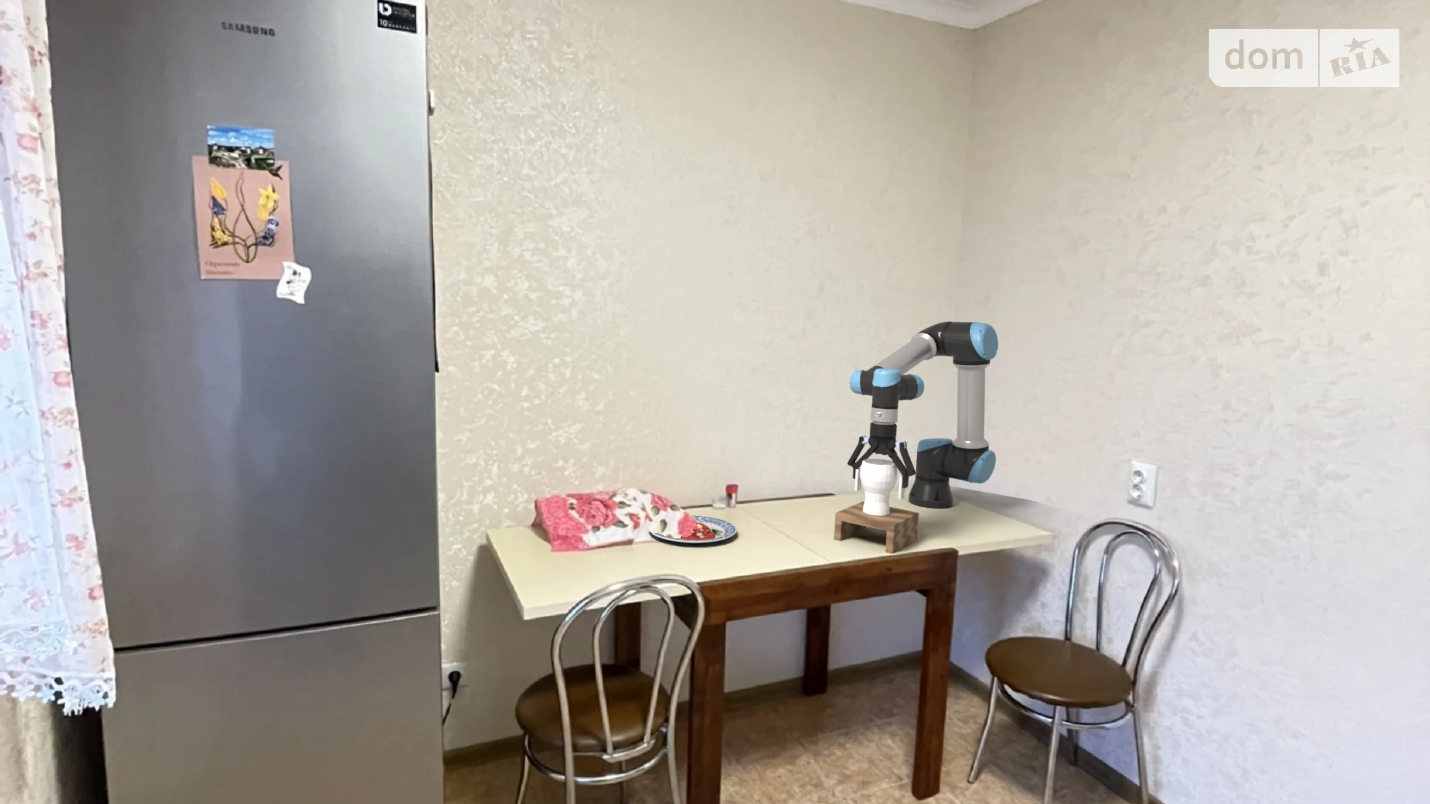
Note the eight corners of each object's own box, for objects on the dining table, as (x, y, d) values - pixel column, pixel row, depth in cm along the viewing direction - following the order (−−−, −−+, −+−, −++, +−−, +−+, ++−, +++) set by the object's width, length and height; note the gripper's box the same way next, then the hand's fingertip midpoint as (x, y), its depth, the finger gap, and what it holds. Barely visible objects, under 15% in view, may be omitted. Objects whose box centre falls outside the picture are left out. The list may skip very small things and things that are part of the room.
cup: (892, 508, 217) (895, 459, 215) (897, 518, 207) (900, 466, 205) (856, 506, 218) (859, 457, 216) (859, 516, 208) (862, 464, 206)
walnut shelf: (861, 526, 226) (863, 501, 225) (917, 539, 215) (919, 512, 214) (833, 539, 211) (835, 512, 210) (892, 553, 201) (894, 525, 200)
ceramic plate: (634, 543, 202) (635, 532, 201) (663, 518, 227) (663, 509, 226) (725, 553, 196) (725, 543, 196) (743, 527, 221) (744, 517, 220)
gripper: (838, 418, 213) (834, 489, 216) (920, 429, 199) (915, 504, 201) (850, 416, 219) (846, 484, 222) (930, 426, 205) (925, 499, 207)
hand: (879, 494), depth 212 cm, fingers open, 13 cm apart
